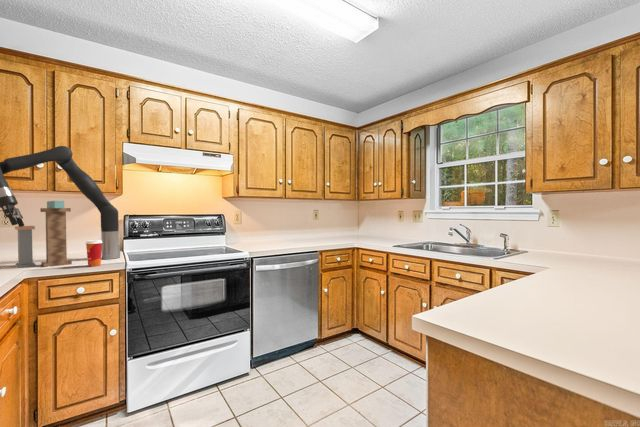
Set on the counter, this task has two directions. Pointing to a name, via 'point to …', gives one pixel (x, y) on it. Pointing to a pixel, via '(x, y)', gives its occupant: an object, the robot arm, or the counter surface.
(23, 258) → the ledge
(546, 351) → the counter surface
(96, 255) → the paper cup
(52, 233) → the stand
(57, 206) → the bar
